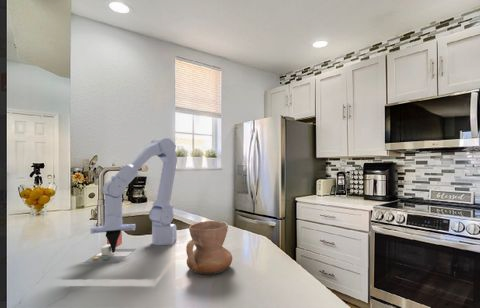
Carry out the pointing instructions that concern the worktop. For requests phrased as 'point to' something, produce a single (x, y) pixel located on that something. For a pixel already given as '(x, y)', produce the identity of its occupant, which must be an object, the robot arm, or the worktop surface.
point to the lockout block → (118, 240)
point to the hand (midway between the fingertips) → (113, 251)
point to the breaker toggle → (106, 249)
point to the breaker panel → (110, 256)
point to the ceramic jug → (208, 247)
